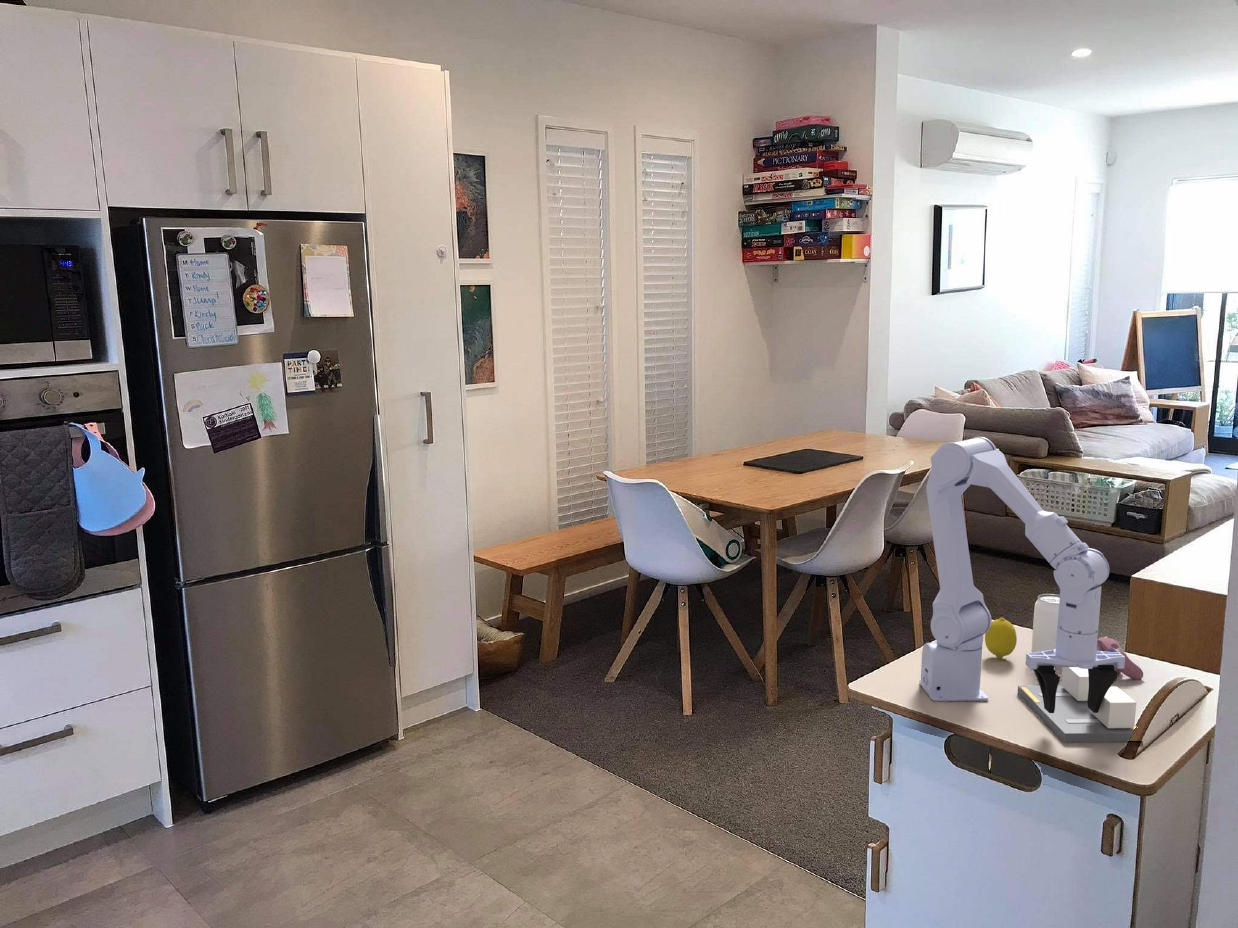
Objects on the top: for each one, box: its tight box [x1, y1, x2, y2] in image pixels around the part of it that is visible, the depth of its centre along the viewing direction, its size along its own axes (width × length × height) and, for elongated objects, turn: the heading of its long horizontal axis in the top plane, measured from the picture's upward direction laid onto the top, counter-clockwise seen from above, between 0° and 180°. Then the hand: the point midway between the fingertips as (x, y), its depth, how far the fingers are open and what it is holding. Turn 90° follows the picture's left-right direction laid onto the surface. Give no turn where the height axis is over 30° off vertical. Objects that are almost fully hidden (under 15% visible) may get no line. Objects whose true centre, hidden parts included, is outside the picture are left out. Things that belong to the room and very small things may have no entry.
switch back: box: [1061, 667, 1089, 701], centre depth 163 cm, size 4×6×4 cm, turn 0°
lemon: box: [984, 617, 1018, 659], centre depth 183 cm, size 6×6×8 cm
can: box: [1030, 593, 1060, 653], centre depth 181 cm, size 6×6×12 cm
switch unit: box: [1017, 684, 1137, 743], centre depth 159 cm, size 12×18×2 cm, turn 0°
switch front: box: [1090, 685, 1137, 728], centre depth 153 cm, size 4×6×4 cm, turn 0°
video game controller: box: [1096, 635, 1144, 681], centre depth 177 cm, size 10×5×7 cm, turn 175°
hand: (1071, 710), depth 153 cm, fingers open, 6 cm apart
